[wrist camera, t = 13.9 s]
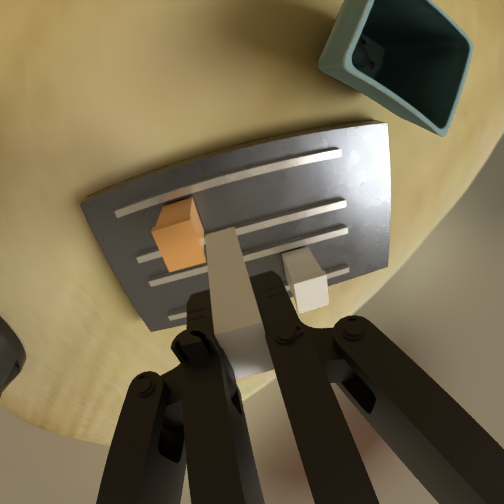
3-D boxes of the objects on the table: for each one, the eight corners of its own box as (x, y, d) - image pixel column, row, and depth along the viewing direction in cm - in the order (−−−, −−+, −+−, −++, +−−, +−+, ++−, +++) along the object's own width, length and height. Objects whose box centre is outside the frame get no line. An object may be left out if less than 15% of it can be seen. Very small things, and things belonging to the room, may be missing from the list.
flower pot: (377, 120, 21) (446, 141, 14) (290, 76, 19) (340, 67, 11) (405, 46, 17) (475, 43, 10) (325, -4, 15) (381, -39, 7)
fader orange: (175, 240, 22) (169, 272, 18) (161, 205, 20) (151, 231, 17) (205, 231, 22) (205, 262, 18) (193, 195, 20) (189, 219, 17)
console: (152, 318, 29) (150, 336, 27) (88, 195, 21) (77, 207, 19) (379, 256, 29) (390, 269, 27) (374, 120, 21) (390, 123, 19)
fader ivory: (285, 281, 26) (298, 313, 22) (280, 253, 24) (293, 284, 20) (312, 273, 26) (328, 304, 22) (308, 245, 24) (326, 274, 20)
